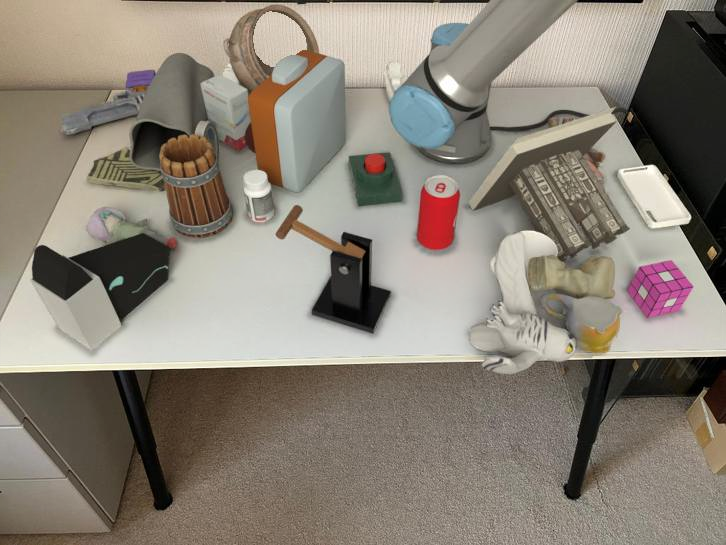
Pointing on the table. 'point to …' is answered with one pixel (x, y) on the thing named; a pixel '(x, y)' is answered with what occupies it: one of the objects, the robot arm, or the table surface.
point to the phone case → (653, 196)
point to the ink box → (227, 109)
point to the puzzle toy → (659, 288)
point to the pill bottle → (258, 196)
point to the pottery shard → (124, 173)
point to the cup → (534, 247)
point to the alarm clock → (299, 118)
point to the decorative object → (99, 285)
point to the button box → (375, 181)
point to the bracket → (352, 289)
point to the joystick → (393, 78)
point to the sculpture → (573, 277)
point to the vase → (168, 109)
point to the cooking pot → (242, 46)
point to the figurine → (590, 157)
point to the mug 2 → (587, 320)
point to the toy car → (230, 74)
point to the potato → (249, 138)
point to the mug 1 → (195, 183)
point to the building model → (557, 185)
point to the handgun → (111, 105)
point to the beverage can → (438, 212)
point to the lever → (314, 234)
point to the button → (375, 163)
